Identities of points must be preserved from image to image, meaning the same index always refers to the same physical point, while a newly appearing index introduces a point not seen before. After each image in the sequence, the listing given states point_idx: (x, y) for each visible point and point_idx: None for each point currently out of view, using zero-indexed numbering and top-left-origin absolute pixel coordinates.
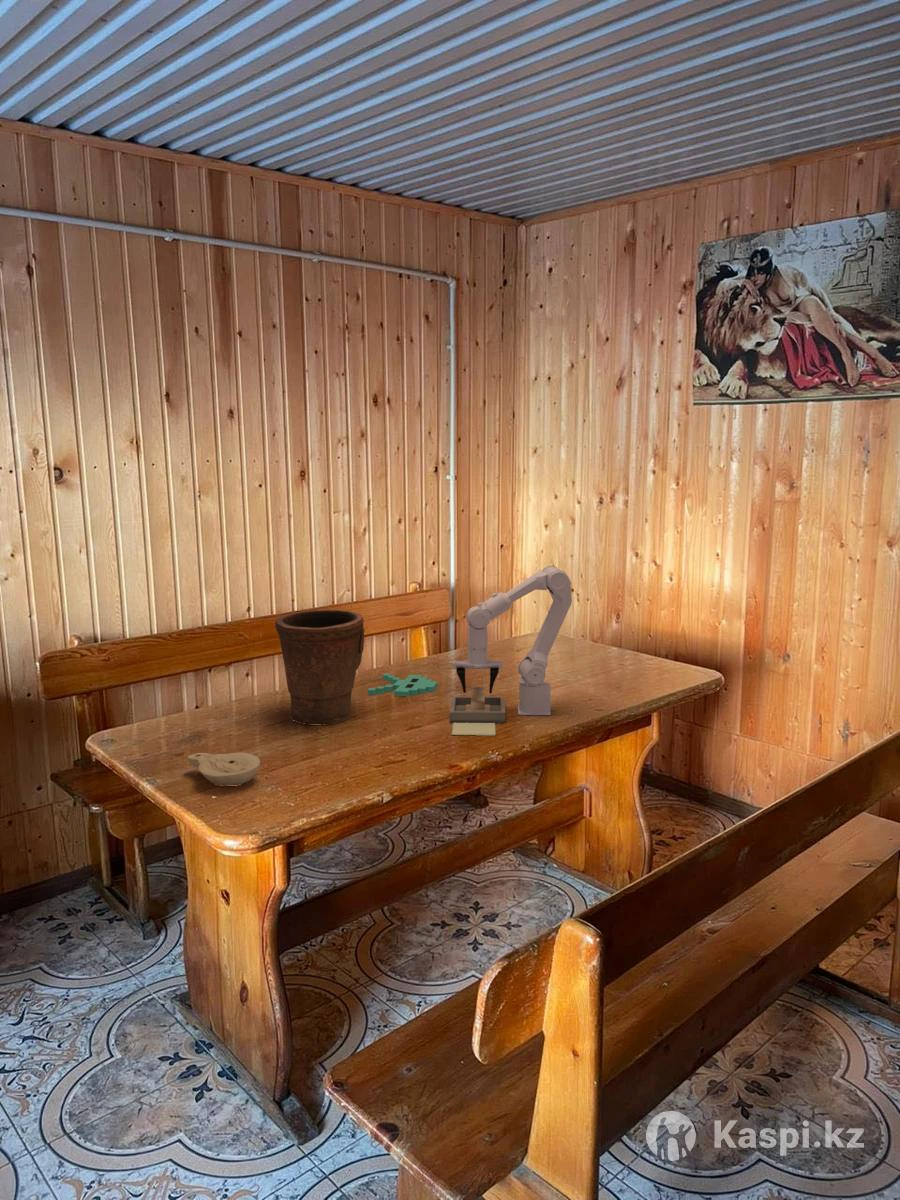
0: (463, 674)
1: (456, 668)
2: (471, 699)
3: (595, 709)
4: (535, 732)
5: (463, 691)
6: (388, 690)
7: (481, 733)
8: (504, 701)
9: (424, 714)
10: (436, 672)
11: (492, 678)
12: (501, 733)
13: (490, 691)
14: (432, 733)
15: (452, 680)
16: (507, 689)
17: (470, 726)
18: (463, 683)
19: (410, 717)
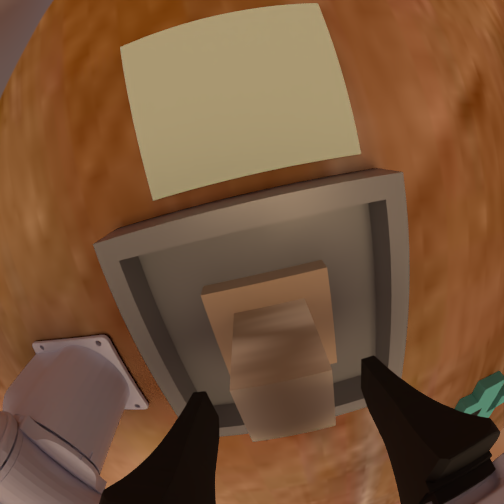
0: (443, 443)
1: (494, 465)
2: (313, 331)
3: (2, 385)
4: (8, 160)
5: (378, 360)
6: (501, 389)
7: (183, 36)
8: (165, 396)
9: (467, 260)
10: (394, 490)
11: (157, 469)
12: (103, 89)
13: (196, 399)
14: (400, 32)
15: (369, 485)
16: (237, 488)
17: (262, 112)
18: (402, 395)
19: (497, 216)
